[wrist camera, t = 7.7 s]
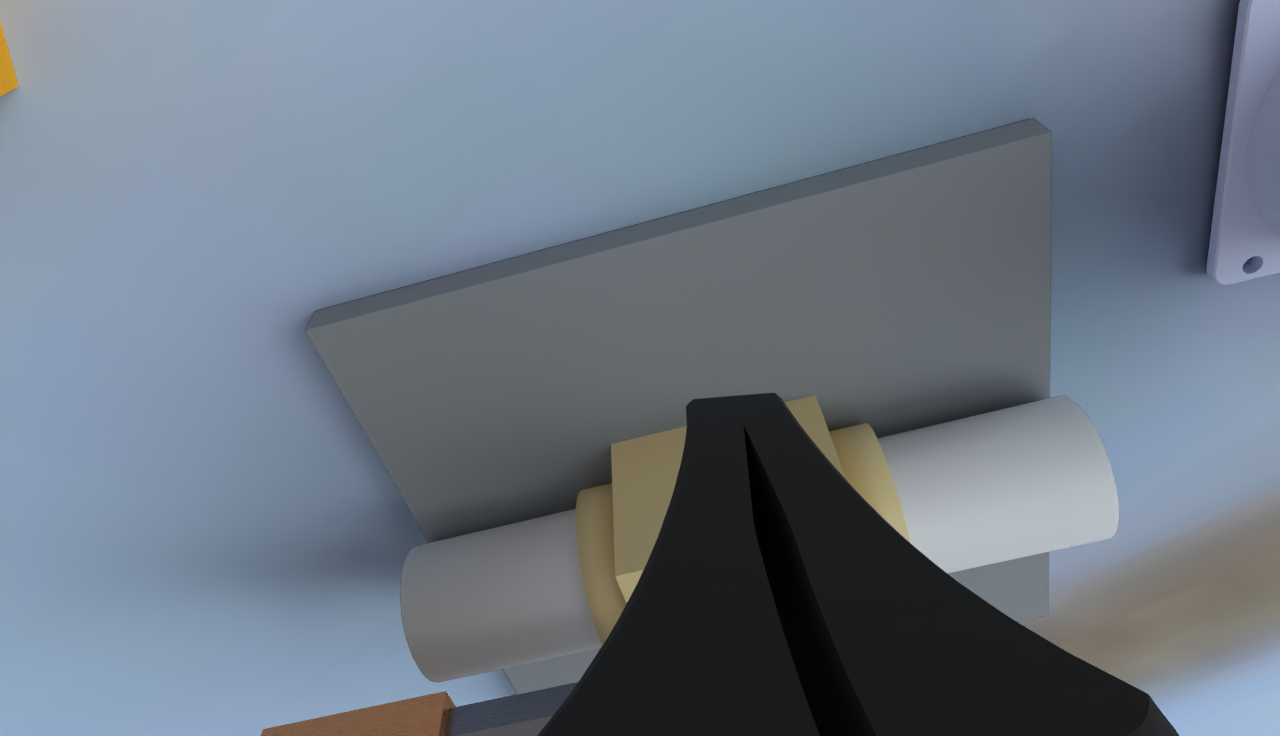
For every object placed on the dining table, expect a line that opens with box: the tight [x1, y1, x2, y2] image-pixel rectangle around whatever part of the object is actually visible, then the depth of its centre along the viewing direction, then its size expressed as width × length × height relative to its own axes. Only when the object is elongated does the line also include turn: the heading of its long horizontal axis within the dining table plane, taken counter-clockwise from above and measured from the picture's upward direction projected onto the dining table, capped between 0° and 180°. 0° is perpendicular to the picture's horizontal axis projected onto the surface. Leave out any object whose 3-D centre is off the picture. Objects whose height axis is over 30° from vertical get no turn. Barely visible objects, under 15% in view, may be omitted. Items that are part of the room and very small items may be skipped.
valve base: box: [305, 118, 1119, 694], centre depth 24 cm, size 19×18×7 cm
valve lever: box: [261, 682, 578, 736], centre depth 22 cm, size 14×3×1 cm, turn 105°
